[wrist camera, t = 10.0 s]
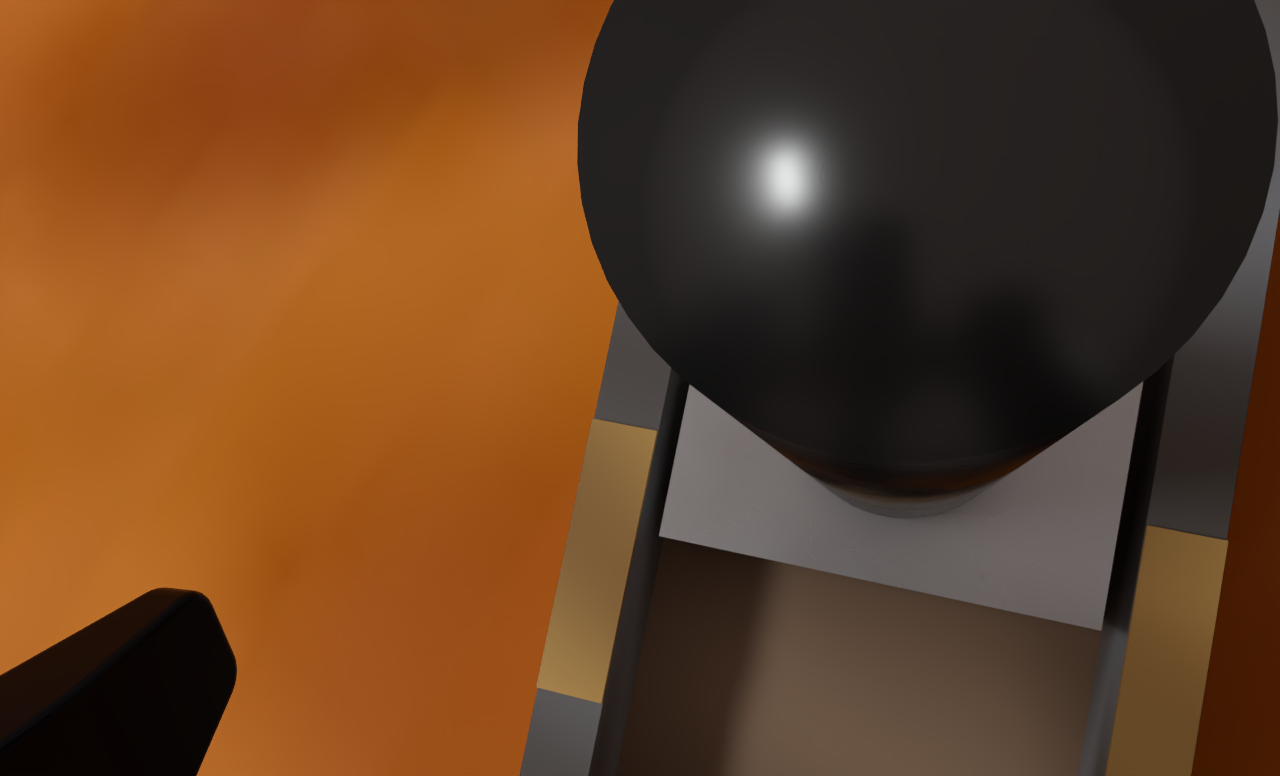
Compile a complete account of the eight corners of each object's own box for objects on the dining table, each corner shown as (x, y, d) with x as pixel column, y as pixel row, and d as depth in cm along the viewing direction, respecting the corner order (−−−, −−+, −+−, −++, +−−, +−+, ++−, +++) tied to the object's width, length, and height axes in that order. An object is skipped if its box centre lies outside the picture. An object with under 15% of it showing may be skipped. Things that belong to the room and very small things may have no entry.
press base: (1044, 1344, 17) (1090, 1610, 13) (491, 1148, 20) (373, 1321, 15) (1265, -4, 19) (1371, -165, 15) (738, -52, 21) (695, -206, 17)
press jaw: (1079, 621, 17) (1565, 827, 5) (684, 536, 19) (225, 517, 6) (1135, 290, 18) (1718, -350, 5) (745, 233, 19) (437, -382, 6)
